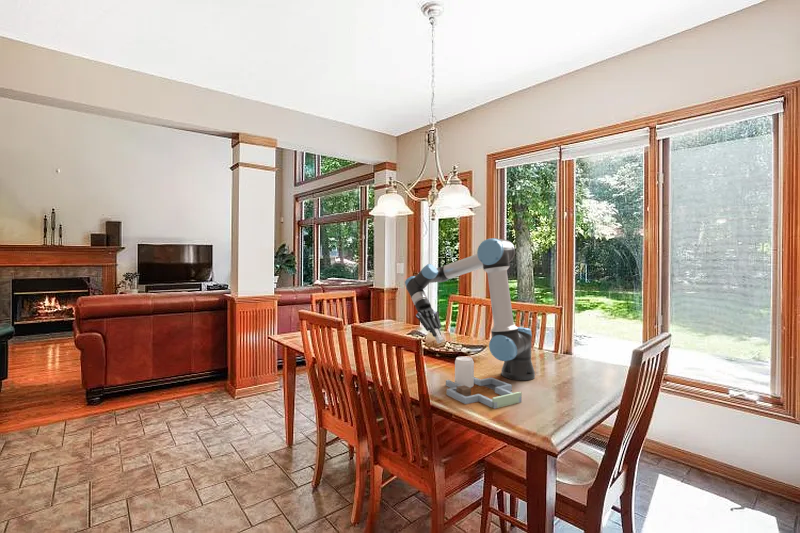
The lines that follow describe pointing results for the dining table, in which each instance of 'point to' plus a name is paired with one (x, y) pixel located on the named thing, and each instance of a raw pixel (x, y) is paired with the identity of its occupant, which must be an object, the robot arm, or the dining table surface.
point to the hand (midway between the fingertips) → (440, 341)
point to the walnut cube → (464, 390)
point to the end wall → (506, 399)
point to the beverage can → (464, 371)
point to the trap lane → (490, 383)
